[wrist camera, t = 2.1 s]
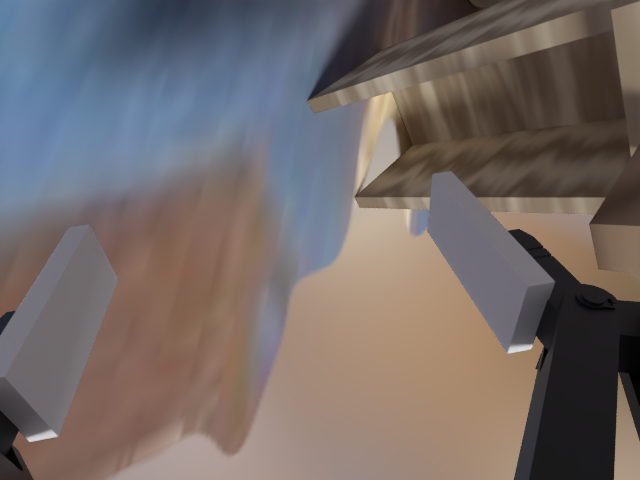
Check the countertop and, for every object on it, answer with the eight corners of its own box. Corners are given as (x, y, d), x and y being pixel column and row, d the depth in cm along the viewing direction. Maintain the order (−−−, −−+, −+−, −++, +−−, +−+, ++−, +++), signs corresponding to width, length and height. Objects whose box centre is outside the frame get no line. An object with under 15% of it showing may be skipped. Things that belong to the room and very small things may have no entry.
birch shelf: (349, 217, 49) (671, 236, 25) (294, 109, 43) (648, -2, 19) (422, 149, 56) (729, 113, 32) (384, 48, 50) (725, -88, 26)
